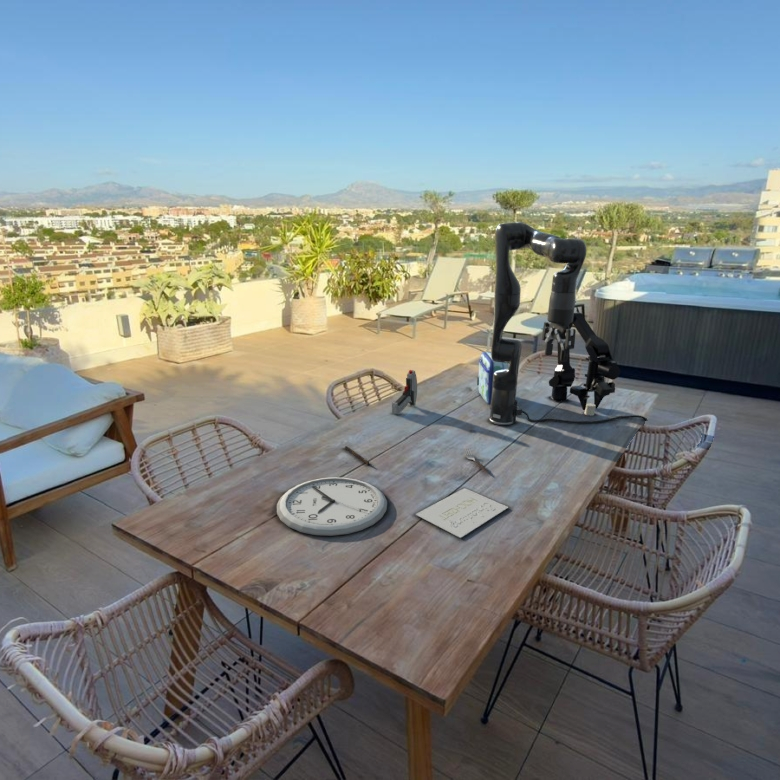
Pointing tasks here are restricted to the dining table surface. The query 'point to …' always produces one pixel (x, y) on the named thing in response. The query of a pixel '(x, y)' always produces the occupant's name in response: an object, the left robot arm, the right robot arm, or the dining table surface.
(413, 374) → the toy gun
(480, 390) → the lunch box
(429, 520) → the invitation card
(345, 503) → the wall clock
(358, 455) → the brown thin stick
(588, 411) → the cream short cylinder
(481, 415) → the dining table surface
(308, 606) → the dining table surface
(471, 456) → the fork
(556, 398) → the right robot arm
